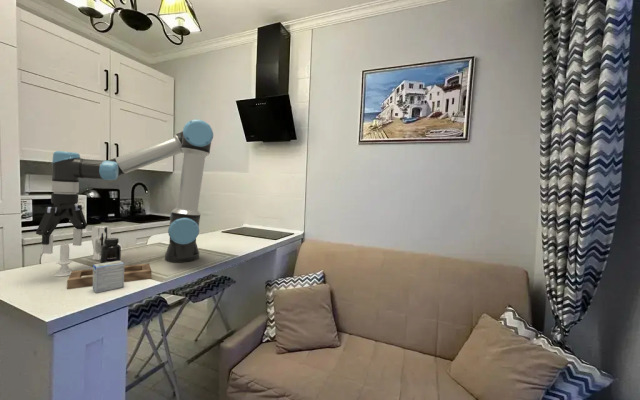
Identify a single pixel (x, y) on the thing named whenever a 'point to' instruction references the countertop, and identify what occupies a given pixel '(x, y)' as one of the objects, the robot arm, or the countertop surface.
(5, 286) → the countertop surface
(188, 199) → the robot arm
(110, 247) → the supplement bottle
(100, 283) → the medicine box
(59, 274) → the candle
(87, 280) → the rack block
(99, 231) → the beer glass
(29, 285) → the countertop surface
